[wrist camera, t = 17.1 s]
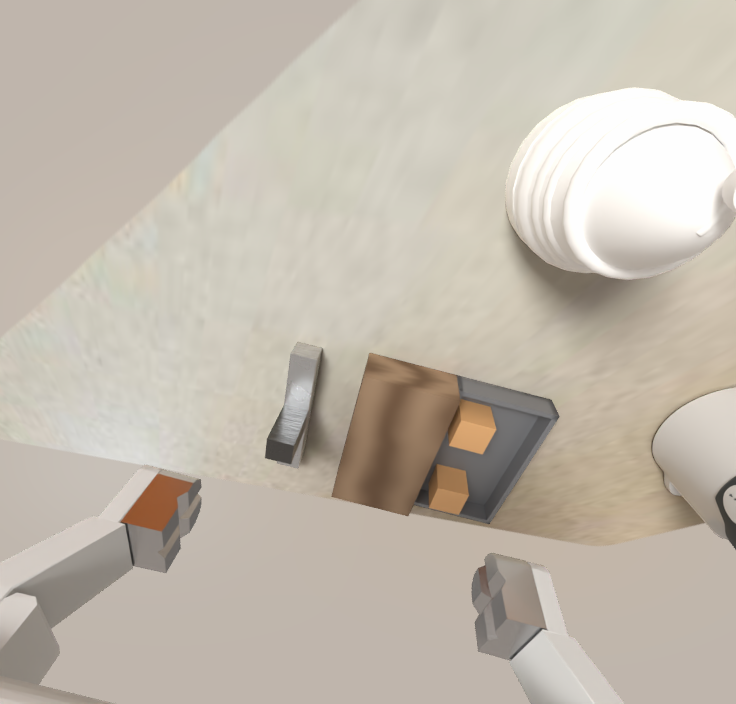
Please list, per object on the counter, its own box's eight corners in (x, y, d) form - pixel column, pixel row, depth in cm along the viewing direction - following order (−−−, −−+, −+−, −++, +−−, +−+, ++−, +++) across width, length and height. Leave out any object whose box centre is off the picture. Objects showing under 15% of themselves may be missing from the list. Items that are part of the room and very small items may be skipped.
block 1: (436, 463, 51) (465, 470, 50) (428, 483, 53) (456, 490, 53) (437, 488, 47) (468, 495, 47) (429, 507, 49) (458, 514, 49)
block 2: (458, 398, 45) (490, 406, 45) (446, 422, 47) (477, 431, 47) (461, 420, 41) (496, 429, 41) (449, 445, 43) (482, 454, 43)
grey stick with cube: (322, 346, 44) (302, 391, 37) (304, 452, 54) (284, 505, 46) (298, 340, 44) (272, 384, 37) (283, 447, 54) (260, 500, 46)
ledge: (456, 375, 44) (460, 401, 40) (409, 485, 54) (408, 516, 50) (369, 352, 44) (364, 376, 39) (338, 467, 54) (331, 496, 50)
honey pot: (577, 57, 29) (761, -31, 13) (704, 148, 30) (997, 163, 15) (475, 213, 35) (518, 276, 19) (585, 280, 37) (704, 386, 21)
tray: (551, 399, 44) (559, 416, 41) (486, 505, 54) (489, 524, 52) (456, 375, 44) (458, 390, 41) (409, 485, 54) (408, 503, 52)
